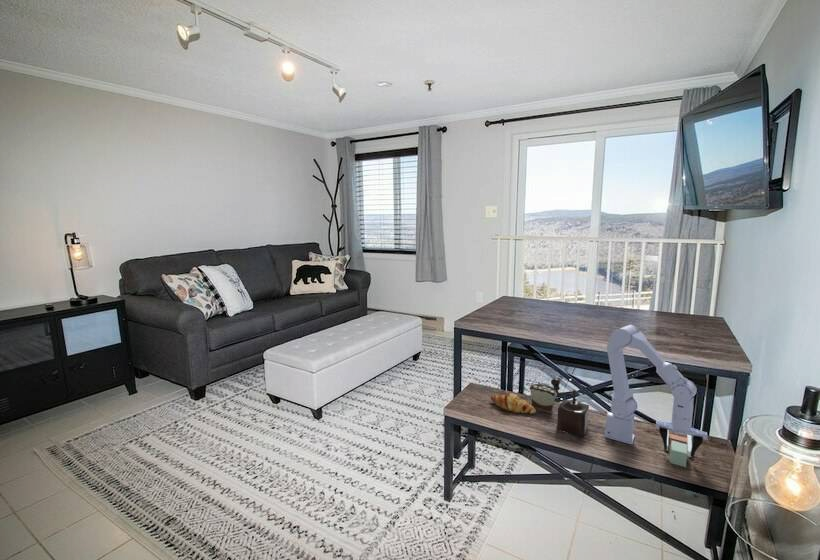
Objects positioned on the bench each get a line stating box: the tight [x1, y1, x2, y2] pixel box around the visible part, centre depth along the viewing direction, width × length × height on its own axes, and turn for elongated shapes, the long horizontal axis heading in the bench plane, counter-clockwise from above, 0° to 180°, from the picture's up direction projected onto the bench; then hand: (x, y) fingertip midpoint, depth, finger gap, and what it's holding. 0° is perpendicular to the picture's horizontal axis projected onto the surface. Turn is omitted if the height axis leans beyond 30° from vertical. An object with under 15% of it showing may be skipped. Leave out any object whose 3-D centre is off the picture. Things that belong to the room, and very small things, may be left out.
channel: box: [663, 430, 693, 458], centre depth 146 cm, size 8×14×2 cm, turn 146°
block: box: [669, 440, 688, 468], centre depth 136 cm, size 4×7×5 cm, turn 145°
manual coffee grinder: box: [550, 378, 590, 438], centre depth 158 cm, size 16×11×18 cm
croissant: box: [490, 392, 537, 415], centre depth 175 cm, size 21×10×8 cm, turn 56°
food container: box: [528, 383, 558, 414], centre depth 175 cm, size 12×6×10 cm, turn 48°
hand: (678, 452), depth 136 cm, fingers open, 7 cm apart
